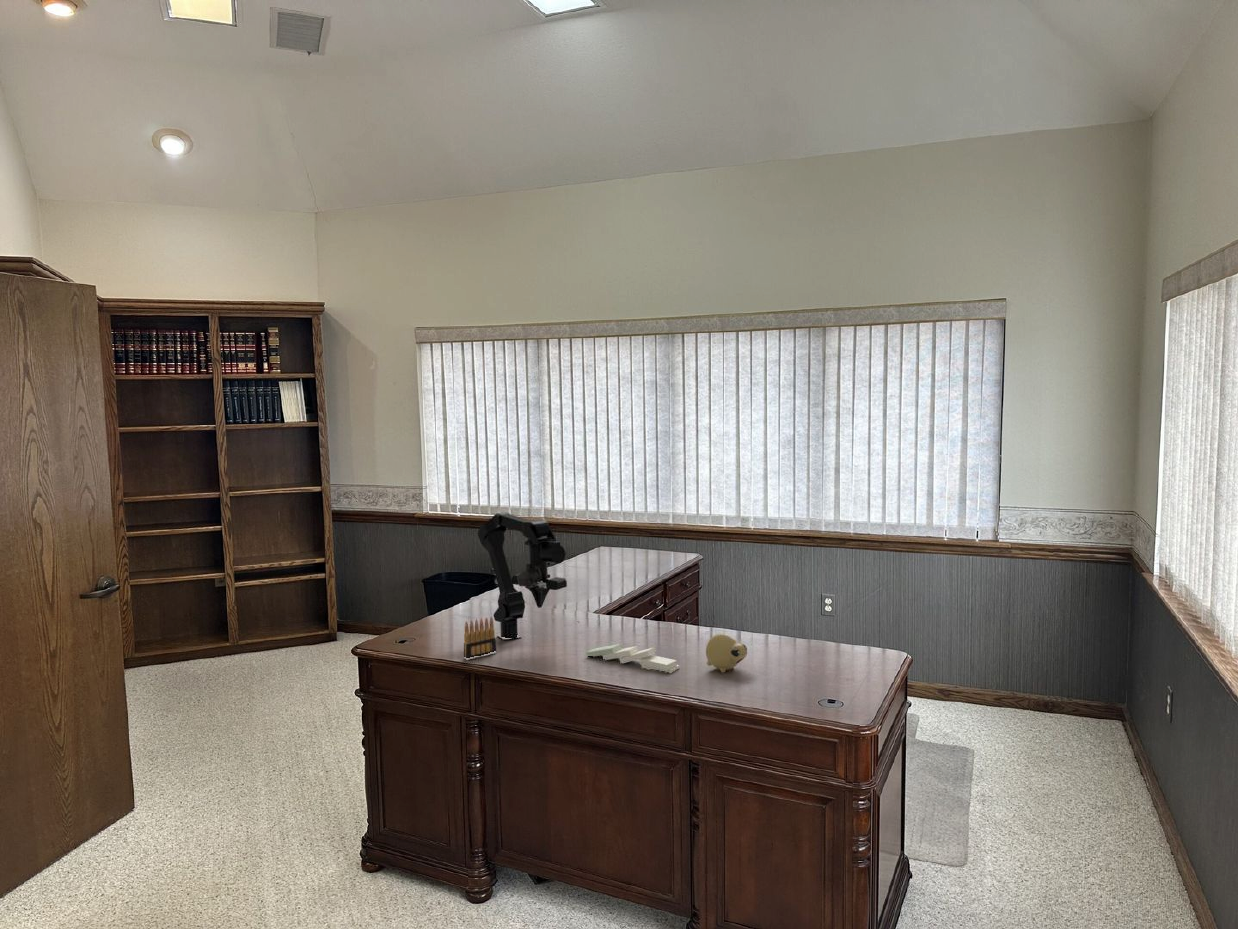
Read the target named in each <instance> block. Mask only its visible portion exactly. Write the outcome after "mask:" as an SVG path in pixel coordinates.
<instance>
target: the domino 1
mask: <svg viewBox="0 0 1238 929" xmlns="http://www.w3.org/2000/svg"><path fill="white" fill-rule="evenodd" d="M621 649H623V647H622V643H618V644H617V643H616V644H613V645H607V646H600V647H596V648H593V649H590V650H588V651H587V652H586V657H587V656H593V657H598V656H599V657H601V656H602V655H606V654H612V653H615V652H617V651H619V650H621ZM593 657H592V658H593Z"/></svg>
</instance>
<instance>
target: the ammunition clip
mask: <svg viewBox="0 0 1238 929" xmlns="http://www.w3.org/2000/svg"><path fill="white" fill-rule="evenodd" d="M464 623H465V624H464V643H463V658H464V657H466V658H470V657H474V656H481V655H484V654H488V653H490V652H494V651H496V652H497V643H496V642H497V640H496V637H495V636H496V635H495V634H496V633H495V626H494V617H493V616H492V615H491V616H490V619H488V617H485V619H484V620H483V618H480V621H479V622H478V619H475V622H473V620H470V623H468V621H467V620H466V621H465V622H464Z"/></svg>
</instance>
